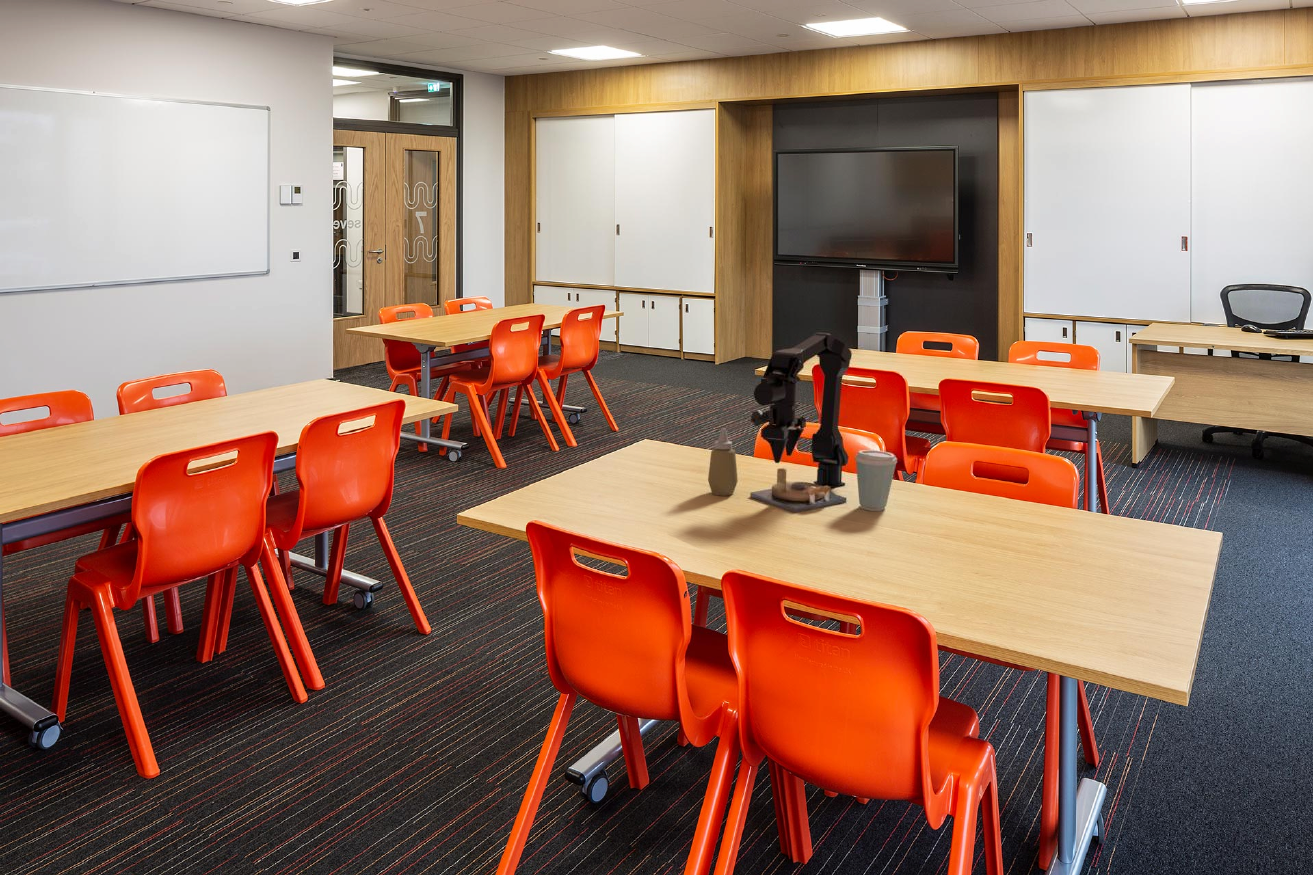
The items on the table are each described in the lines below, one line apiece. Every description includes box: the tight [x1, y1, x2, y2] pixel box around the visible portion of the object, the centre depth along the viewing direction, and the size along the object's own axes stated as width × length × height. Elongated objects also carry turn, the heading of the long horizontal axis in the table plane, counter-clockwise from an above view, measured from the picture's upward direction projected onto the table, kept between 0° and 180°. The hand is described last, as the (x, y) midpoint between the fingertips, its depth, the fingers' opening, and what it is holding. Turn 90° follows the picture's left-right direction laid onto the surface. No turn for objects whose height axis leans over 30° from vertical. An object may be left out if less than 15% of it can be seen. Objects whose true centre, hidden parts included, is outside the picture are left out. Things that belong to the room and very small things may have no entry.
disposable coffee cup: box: [854, 449, 898, 512], centre depth 264 cm, size 11×11×15 cm
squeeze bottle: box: [707, 428, 739, 497], centre depth 277 cm, size 8×8×18 cm
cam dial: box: [771, 467, 824, 501], centre depth 272 cm, size 14×14×8 cm
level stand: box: [749, 486, 847, 513], centre depth 273 cm, size 18×18×5 cm
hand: (783, 459), depth 267 cm, fingers open, 9 cm apart
